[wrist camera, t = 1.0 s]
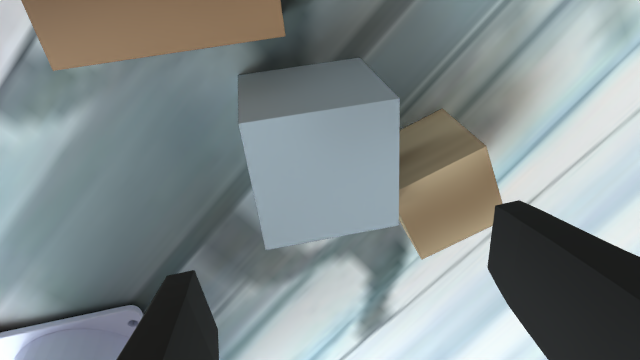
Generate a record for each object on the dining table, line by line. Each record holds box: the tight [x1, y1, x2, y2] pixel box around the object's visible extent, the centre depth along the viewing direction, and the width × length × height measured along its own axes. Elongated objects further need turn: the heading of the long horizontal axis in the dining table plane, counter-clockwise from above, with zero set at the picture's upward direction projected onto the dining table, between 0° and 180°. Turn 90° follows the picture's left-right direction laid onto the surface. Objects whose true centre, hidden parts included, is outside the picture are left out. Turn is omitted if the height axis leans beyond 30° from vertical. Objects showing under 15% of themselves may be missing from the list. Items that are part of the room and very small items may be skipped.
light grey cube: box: [238, 58, 400, 250], centre depth 16 cm, size 5×5×5 cm
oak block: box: [399, 109, 502, 259], centre depth 18 cm, size 4×4×4 cm
